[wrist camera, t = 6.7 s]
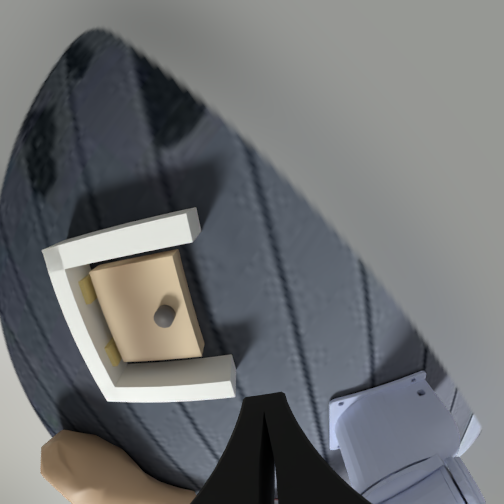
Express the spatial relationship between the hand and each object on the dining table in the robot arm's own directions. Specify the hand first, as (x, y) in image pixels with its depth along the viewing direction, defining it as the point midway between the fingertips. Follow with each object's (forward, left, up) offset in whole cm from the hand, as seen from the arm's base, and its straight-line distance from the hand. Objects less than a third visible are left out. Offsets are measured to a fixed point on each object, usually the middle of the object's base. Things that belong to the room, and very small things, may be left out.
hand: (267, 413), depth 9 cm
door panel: (+7, -1, -10) cm, 13 cm away
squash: (+19, +20, -10) cm, 30 cm away
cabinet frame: (+7, -1, -10) cm, 12 cm away
